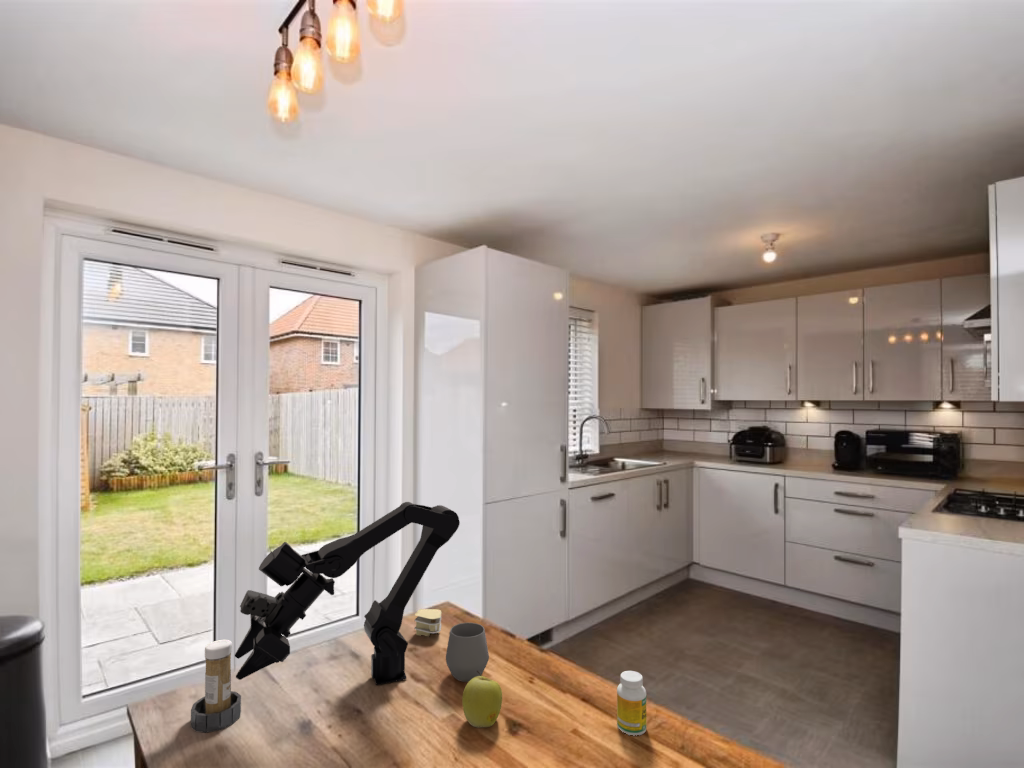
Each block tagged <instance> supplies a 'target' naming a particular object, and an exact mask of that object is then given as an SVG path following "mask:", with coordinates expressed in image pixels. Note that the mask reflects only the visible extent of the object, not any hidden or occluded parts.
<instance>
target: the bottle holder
mask: <svg viewBox="0 0 1024 768" xmlns="http://www.w3.org/2000/svg"><path fill="white" fill-rule="evenodd" d="M205 713H206V701H205V696H203V697H201V698H198V700H197V701H195V702H194V703H193V704H192V706H191V710H190V728H191V729H193V731H195V732H198V733H205V734H206V733H211V732H215V731H220V730H223V729H225V728H228V727H229V726H232V725H233V724H235V722H236V721H238V720H239V719H240V718H241V715H242V714H241V713H242V695H241V694H240V693H238V691H233V690H231V707H230V708H227V709H225V710H223V711H221V712H216V713H211V714H205Z"/></svg>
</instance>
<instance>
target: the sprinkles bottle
mask: <svg viewBox="0 0 1024 768" xmlns="http://www.w3.org/2000/svg"><path fill="white" fill-rule="evenodd" d="M232 652H233V642H232V641H231V640H229V639H219V640H214V641H212V642H209V643H208V644H207V645H205V647H204V659H205V675H204V677H205V678H204V680H205V681H204V693H205V694H204V697H205V701H206V713H205V714H211V713H216V712H221V711H223V710H225V709H227V708H230V707H231V691H232V669H231V668H232V667H231V665H232V664H231V663H232V662H231V659H232V657H231V656H232Z"/></svg>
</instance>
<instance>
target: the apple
mask: <svg viewBox="0 0 1024 768" xmlns="http://www.w3.org/2000/svg"><path fill="white" fill-rule="evenodd" d="M477 672H478V671H477ZM478 673H479V672H478ZM479 674H480V673H479ZM466 683H467V684H465V687H464V690H463V692H462V698H461V700H462V710H463V714H464V717H465V720H467V722H468V723H469V724H470V725H471V727H474V728H490V727H492V726H493V725H494V724H495V723H496V721H497V719H498V717H499V715H500V712H501V709H502V704H503V691H502V687H501V685H500V683H498V681H496V680H493V679H491V678H489V677H487V676H483V675H481V676H477V677H474V678H472V679H471V680H470V681H469V682H466Z"/></svg>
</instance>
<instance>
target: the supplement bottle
mask: <svg viewBox="0 0 1024 768" xmlns="http://www.w3.org/2000/svg"><path fill="white" fill-rule="evenodd" d="M619 682H620V683H619V684H618V686H617V688H616V726H617V729H618V730H619V729H620V730H621V731H622V733H623V732H624V733H626V734H628V735H627V736H630V735H633V736H632V737H638V736H637V735H639V736H642V735H643V734H645V732H646V731H647V690H646V688H645V687H644V686H643V684H644V679H643V675H642V674H641V673H640V672H638V671H634V670H625V671H622V672H621V673H620V679H619ZM620 730H619V731H620ZM621 731H620V732H621ZM624 733H623V734H624ZM626 734H625V735H626ZM635 735H636V736H635Z"/></svg>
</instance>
